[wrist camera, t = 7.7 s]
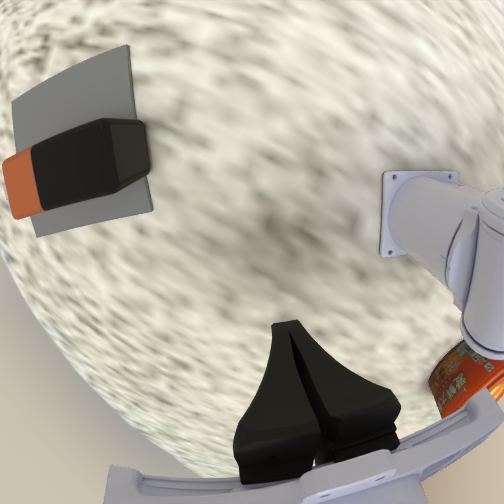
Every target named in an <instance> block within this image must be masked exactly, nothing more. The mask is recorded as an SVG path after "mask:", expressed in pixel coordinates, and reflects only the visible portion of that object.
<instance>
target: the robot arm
mask: <svg viewBox="0 0 504 504" xmlns="http://www.w3.org/2000/svg"><path fill="white" fill-rule="evenodd" d="M393 175H395V178H394V179H392V176H393ZM448 176H449V178H448ZM390 250H391V251H390ZM389 251H390V253H388V252H389ZM405 254H409V255H411V256H412V257H413V258H414V259H415V260H416V261H418V262H419V263H420V264H421V265H422V266H423V267H425V268H426V269H427V270H428V271H429V272H430V273H431V274H432V275H433V276H435V277H436V278H437V279H438V280H439V281H440V282H441V283H442V284H443V285H444V286H445V287H446V288H448V289H449V290H450V291H451V292H452V294H453V296H454V301H453V304H454V305H455V306H456V307H457V308H458V309H459V310H460V311H461V312H462V315H461V319H460V329H461V333H462V336H463V338H464V340H465V341H466V343H467V344H468V345H469V346H470V347H471V348H472V349H473V350H474V351H475V352H477V353H478V354H480V355H482V356H484V357H486V358H489V359H494V360H504V188H496V189H493V190H490V191H489V192H488V193H485V192H482V191H480V190H477V189H475V188H472V187H470V186H467V185H465V184H462V183H459V173H458V172H456V171H387V172H385V173H384V175H383V209H382V230H381V244H380V255H381V256H382V257H383V258H388V257H394V256H399V255H405ZM271 328H272V344H271V350H270V356H269V360H268V363H267V367H266V370H265V374H264V376H263V379H262V382H261V384H260V386H259V389H258V391H257V393H256V395H255V397H254V399H253V401H252V402H251V404H250V406H249V408H248V409H247V411H246V412H245V414H244V415H243V417H242V418H241V420H240V421H239V423H238V426H237V429H236V432H235V436H234V441H233V453H234V458H235V460H236V462H237V464H238V466H239V475H240V477H232V478H176V477H162V476H152V475H143V474H141V473H140V472H139V471H138V470H136V469H133V468H130V467H123V466H117V465H110V468H109V473H108V478H107V484H106V490H105V496H104V503H103V504H429V503H428V500H427V497H426V495H425V492H424V490H423V487H422V485H421V482H422V481H424V480H425V479H427V478H429V477H431V476H432V475H434V474H436V473H438V472H439V471H441V470H443V469H444V468H446V467H447V466H449V465H450V464H452V463H454V462H455V461H457V460H458V459H459V458H461V457H462V456H464V455H465V454H467V453H468V452H470V451H471V450H472V449H474V448H475V447H477V446H478V445H479V444H481V443H482V442H483V441H485V440H486V438H488V437H489V436H490V435H491V434H492V433H493V432H494V430H495V429H496V428H498V426H499V425H500V424H501V423H502V422H503V421H504V413H503V411H502V410H501V408H500V407H499V405H498V404H497V402H496V401H495V399H494V398H493V396H492V395H491V394H490V392H489V391H488V389H487V388H484V389H483V390H481V391H480V392H478V393H477V394H475V395H474V396H472V397H471V398H470V399H469V400H468V401H467V403H466V404H465V406H464V407H463V408H461V409H459V410H457V411H456V412H454V413H452V414H451V415H449V416H447V417H445V418H443V419H441V420H440V421H438V422H436V423H434V424H432V425H430V426H428V427H426V428H424V429H422V430H419V431H417V432H415V433H413V434H411V435H408V436H406V437H404V438H401V439H398V437H397V434H396V432H395V431H396V430H397V428H396V426H395V424H394V422H395V420H396V418H397V417H398V415H399V413H400V410H401V405H400V403H399V401H398V399H397V398H396V396H395V395H394V394H393V392H392V391H391V390H390V389H388V388H385V387H382V386H380V385H377V384H374V383H372V382H370V381H368V380H366V379H364V378H362V377H361V376H359V375H357V374H355V373H354V372H352V371H350V370H349V369H347V368H346V367H344V366H343V365H342V364H340V363H339V362H338V361H336V360H335V359H334V358H333V357H332V356H330V355H329V354H328V353H327V352H326V351H325V350H324V349H323V348H322V347H321V346H320V345H319V344H318V343H317V342H316V341H315V340H314V339H313V338H312V337H311V335H310V334H309V333H308V332H307V331H306V329H305V328H304V327H303V326H302V324H301V323H300V321H298V320H292V321H286V322H279V323H273V324H272V325H271ZM314 459H315V465H316V466H313V461H314ZM312 466H313V467H312Z"/></svg>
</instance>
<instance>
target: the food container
mask: <svg viewBox="0 0 504 504" xmlns="http://www.w3.org/2000/svg"><path fill="white" fill-rule="evenodd" d="M429 386H430V388H431V391H432V393H433V396H434V399H435V401H436V404H437V407H438V409H439V412H440V415H441V418H442V419H443V418H445V417H447V416H449V415H451V414H452V413H454V412H456V411H457V410H459V409H461V408H463V407H464V406H465V404H466V403H467V401H468V400H469V399H470V398H471V397H472V396H474V395H475V394H477V393H478V392H480V391H481V390H483V389H484V388H487V389H488V391H489V392H490V394H491V395H492V396H493V398H494V399H495V401H496V402H497V401H498V400H499V399H500V398H501V397H502V396H503V394H504V360H494V359H489V358H486V357H484V356H482V355H480V354H478V353H477V352H475V351H474V350H473V349H472V348H471V347H470V346H469V345H468V344H467V343H466V341H465V340H464V341H462V342H461V343H460V344H458V345H457V346H456V347H455V348H453V349H452V350H451V351H450V352H449V353H448V354H447V355H446V356H445V357H444V358H443V359H442V360H441V361H440V363H439V364H438V365H437V367H436V368H435V370H434V371H433V373H432V375H431V377H430V379H429Z"/></svg>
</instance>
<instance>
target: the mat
mask: <svg viewBox="0 0 504 504" xmlns="http://www.w3.org/2000/svg"><path fill="white" fill-rule="evenodd" d="M12 117H13V129H14V138H15V146H16V153H19V152H20V151H22V150H24V149H26V148H28V147H30V146H33V145H35V144H37V143H39V142H41V141H43V140H45V139H48V138H50V137H52V136H55V135H57V134H59V133H62V132H64V131H67V130H69V129H72V128H74V127H77V126H80V125H82V124H85V123H88V122H91V121H94V120H97V119H100V118H120V119H134V120H137V118H136V111H135V103H134V95H133V85H132V75H131V64H130V50H129V46H128V45H127V44H126V45H123V46H120V47H117V48H115V49H112V50H109V51H107V52H104V53H102V54H99V55H97V56H94V57H92V58H90V59H87V60H85V61H83V62H81V63H79V64H76V65H74V66H72V67H70V68H68V69H66V70H64V71H62V72H60V73H58V74H56V75H55V76H53V77H51V78H49V79H47V80H46V81H44V82H42V83H40V84H39V85H37V86H35V87H34V88H32V89H30V90H29V91H27V92H26V93H24V94H23V95H21V96H20V97H18V98H17V99H15V100H14V101H12ZM152 211H153V206H152V201H151V197H150V192H149V187H148V182H147V177H146V176H145V177H143V178H141V179H139V180H138V181H136V182H134V183H132V184H131V185H129V186H127V187H125V188H124V189H122V190H120V191H119V192H117V193H115V194H111V195H107V196H103V197H99V198H94V199H90V200H86V201H82V202H78V203H74V204H70V205H67V206H63V207H59V208H56V209H52V210H49V211H45V212H42V213H38V214H35V215H32V216H30V217H31V220H32V224H33V227H34V230H35V233H36V236H37V238H38V237H41V236H45V235H49V234H53V233H57V232H61V231H65V230H69V229H73V228H77V227H82V226H86V225H90V224H95V223H99V222H104V221H108V220H113V219H118V218H123V217H128V216H133V215H138V214H143V213H148V212H152Z"/></svg>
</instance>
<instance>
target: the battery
mask: <svg viewBox="0 0 504 504" xmlns="http://www.w3.org/2000/svg"><path fill="white" fill-rule="evenodd" d="M149 167H150V165H149V159H148V153H147V146H146V139H145V132H144V125H143V123H142V122H141V121H140V120H134V119H120V118H100V119H97V120H94V121H91V122H88V123H85V124H82V125H80V126H77V127H74V128H72V129H69V130H67V131H64V132H62V133H59V134H57V135H55V136H52V137H50V138H48V139H45V140H43V141H41V142H39V143H37V144H35V145H33V146H30V147H28V148H26V149H24V150H22V151H20V152H19V153H17V154H15V155H13V156H11V157H9V158H7V159H6V160H5V161H4V162H3V164H2V169H3V175H4V180H5V184H4V185H3V186H4V190H5V195H6V200H9V204H10V208H11V212H12V215H13V218H14V219H17V220H19V219H22V218H25V217H28V216H32V215H35V214H38V213H42V212H45V211H49V210H52V209H56V208H59V207H63V206H67V205H70V204H74V203H78V202H82V201H86V200H90V199H94V198H99V197H103V196H107V195H111V194H115V193H117V192H119V191H120V190H122V189H124V188H125V187H127V186H129V185H131V184H132V183H134V182H136V181H138V180H139V179H141V178H143V177H145V176H146V175H147V174H148V173H149V171H150V168H149Z"/></svg>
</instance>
